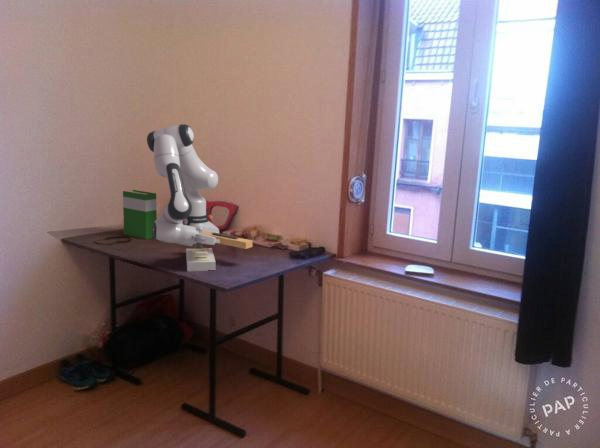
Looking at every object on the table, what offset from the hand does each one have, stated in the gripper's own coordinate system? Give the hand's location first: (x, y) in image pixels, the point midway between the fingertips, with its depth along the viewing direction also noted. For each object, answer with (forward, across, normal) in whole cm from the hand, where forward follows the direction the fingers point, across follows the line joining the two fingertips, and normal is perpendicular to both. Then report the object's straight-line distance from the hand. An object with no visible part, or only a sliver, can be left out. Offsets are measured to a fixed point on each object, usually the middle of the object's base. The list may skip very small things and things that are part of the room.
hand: (218, 241), depth 237 cm
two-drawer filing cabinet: (-5, +6, +11) cm, 14 cm away
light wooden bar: (+3, +5, +1) cm, 6 cm away
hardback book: (-23, +66, +7) cm, 71 cm away
